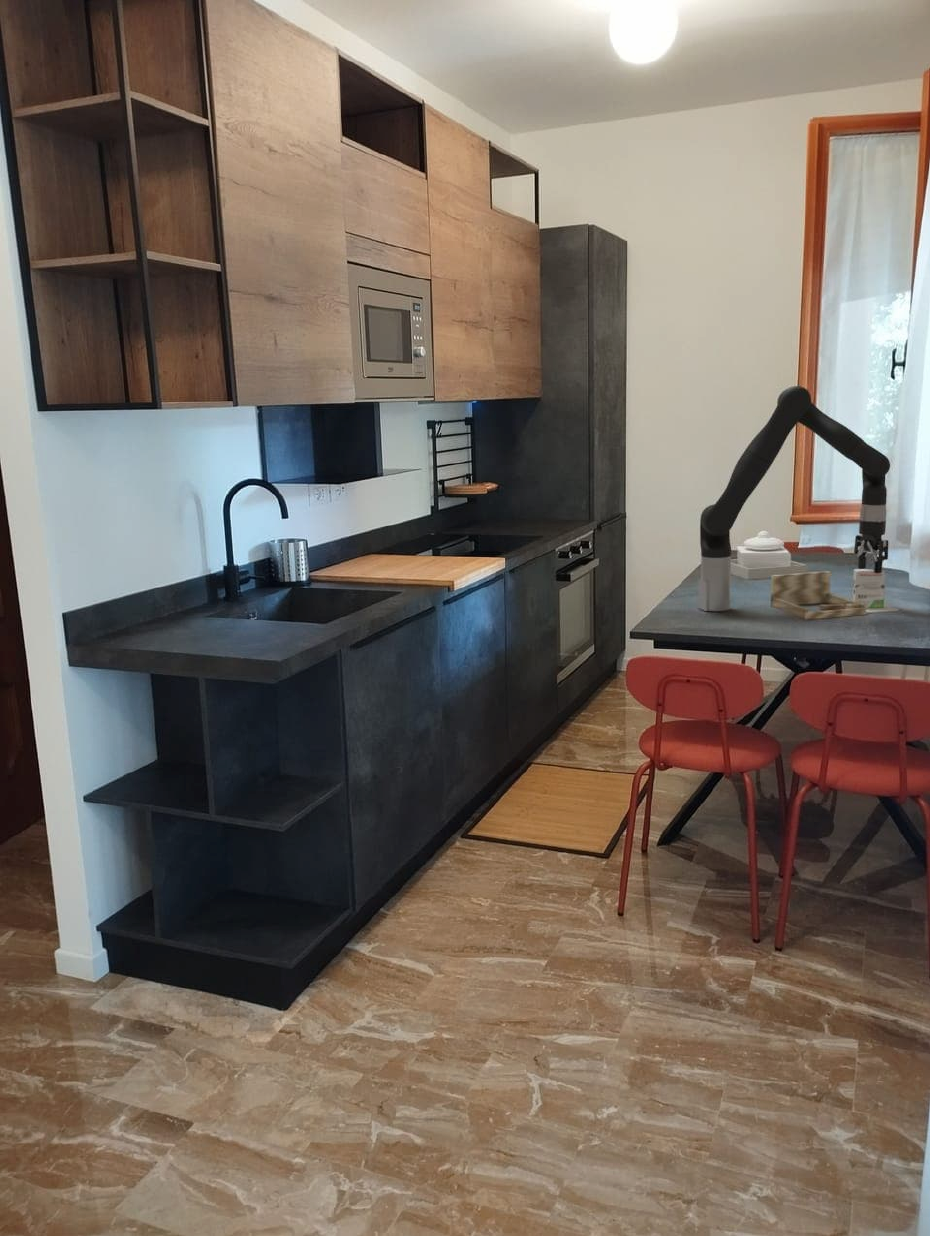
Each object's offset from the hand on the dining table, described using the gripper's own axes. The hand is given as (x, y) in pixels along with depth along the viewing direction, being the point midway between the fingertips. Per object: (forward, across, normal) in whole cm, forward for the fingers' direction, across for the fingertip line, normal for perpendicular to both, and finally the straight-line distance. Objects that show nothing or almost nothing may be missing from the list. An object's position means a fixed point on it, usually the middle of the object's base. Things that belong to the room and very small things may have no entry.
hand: (869, 570), depth 312 cm
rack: (+12, -3, -16) cm, 20 cm away
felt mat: (+12, 0, 0) cm, 12 cm away
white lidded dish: (+12, -71, +1) cm, 72 cm away
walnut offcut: (+10, +5, -15) cm, 19 cm away
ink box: (+12, 0, 0) cm, 12 cm away
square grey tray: (+12, -71, +1) cm, 72 cm away
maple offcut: (+12, +6, -9) cm, 16 cm away
